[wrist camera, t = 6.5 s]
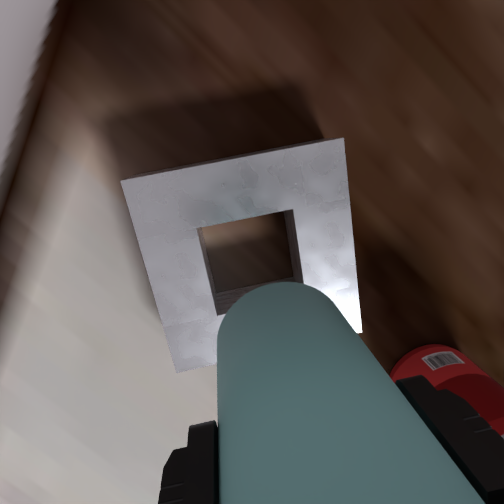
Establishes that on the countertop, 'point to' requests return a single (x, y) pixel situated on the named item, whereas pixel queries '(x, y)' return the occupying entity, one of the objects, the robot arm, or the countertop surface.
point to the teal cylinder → (318, 412)
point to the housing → (235, 208)
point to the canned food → (455, 379)
